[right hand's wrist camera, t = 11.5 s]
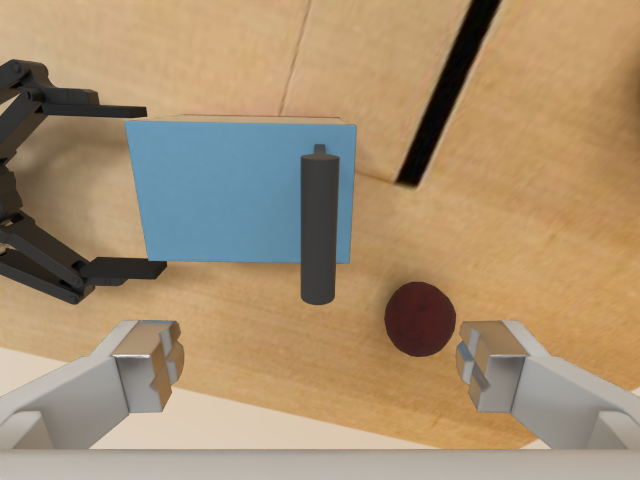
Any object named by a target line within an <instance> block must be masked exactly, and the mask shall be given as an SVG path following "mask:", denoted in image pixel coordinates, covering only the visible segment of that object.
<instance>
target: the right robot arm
mask: <svg viewBox="0 0 640 480" xmlns="http://www.w3.org/2000/svg"><path fill="white" fill-rule="evenodd" d="M180 334H181V332H180V327H179V324H178V323H177V322H176V321H156V320H124V321H120V322H119V323H118V324H117V325H116V326H115V328H114V329H113V330H112V331H111V332H110V333H109V334H108V335H107V336H106V337H105V339H104V340H103V341H102V342H101V343H100V344H99V345H98V346H97V347H96V348H95V350H94V351H93V352H92V353H91V354H90V355H89V356H82V357H80V358H78V359H76V360H74V361H72V362H70V363H68V364H66V365H64V366H62V367H60V368H58V369H56V370H54V371H52V372H50V373H48V374H46V375H44V376H42V377H40V378H38V379H35V380H33V381H31V382H29V383H27V384H25V385H23V386H21V387H19V388H17V389H15V390H13V391H11V392H9V393H7V394H5V395H3V396H1V397H0V480H640V397H639V396H637V395H635V394H633V393H631V392H629V391H627V390H625V389H623V388H621V387H619V386H617V385H615V384H612V383H610V382H608V381H606V380H604V379H602V378H600V377H598V376H596V375H594V374H592V373H590V372H588V371H586V370H584V369H582V368H580V367H578V366H576V365H574V364H572V363H570V362H568V361H566V360H564V359H562V358H560V357H558V356H551V355H550V354H549V353H548V352H547V351H546V350H545V348H544V347H543V346H542V345H541V344H540V343H539V342H538V341H537V340H536V339H535V337H534V336H533V335H532V334H531V333H530V332H529V331H528V330H527V329H526V328H525V326H524V325H523V324H522V323H521V322H519V321H517V320H498V321H463V322H462V324H461V326H460V331H459V334H460V336H461V338H462V339H463V341H462V342H461V343H460V344H459V345H458V346H457V349H456V366H457V370H458V373H459V375H460V377H461V380H462V381H464V382H465V383H466V384H468V385H469V390H468V393H469V395H470V397H471V399H472V401H473V403H474V405H475V407H476V409H477V411H478V412H491V413H511V415H512V416H513V417H514V418H515V419H517V420H518V421H519V422H520V423H521V424H523V425H524V426H525V427H526V428H527V429H529V430H530V431H531V432H532V433H533V434H535V435H536V436H537V437H538V438H539V439H541V440H542V441H543V442H544V443H545V444H547V445H548V446H549V447H550V448H551V449H89V448H90V447H91V446H92V445H94V444H95V443H96V442H97V441H98V440H99V439H101V438H102V437H103V436H104V435H106V434H107V433H108V432H109V431H110V430H112V429H113V428H114V427H115V426H116V425H118V424H119V423H120V422H121V421H122V420H124V419H125V418H126V417H127V416H128V415H129V413H149V412H162V411H163V409H164V407H165V405H166V403H167V401H168V399H169V397H170V395H171V393H172V390H171V385H172V384H174V383H175V382H176V381H178V380H179V377H180V375H181V373H182V370H183V365H184V349H183V346H182V345H181V344H180V343H179V342H178V341H177V339H178V338H179V336H180Z"/></svg>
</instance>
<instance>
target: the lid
mask: <svg viewBox="0 0 640 480" xmlns="http://www.w3.org/2000/svg"><path fill="white" fill-rule="evenodd" d="M125 128H126V134H127V139H128V145H129V151H130V157H131V163H132V168H133V174H134V180H135V186H136V192H137V197H138V203H139V209H140V215H141V221H142V226H143V232H144V238H145V244H146V249H147V255H148V260H149V261H199V262H264V263H301V298H302V300H303V301H304V302H306V303H308V304H312V305H324V304H328V303H330V302H331V301H333V299H334V297H335V272H336V264H349V263H350V245H351V226H352V207H353V188H354V169H355V150H356V131H357V126H356V125H349V124H295V123H241V122H187V121H125Z"/></svg>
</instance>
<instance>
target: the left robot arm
mask: <svg viewBox="0 0 640 480" xmlns="http://www.w3.org/2000/svg"><path fill="white" fill-rule="evenodd" d="M20 93H21V94H20ZM18 94H20V95H19V96H18V97H17V98H16V99H15V100H14V101H13V103H12V104H11V105H10V106H9V107H8V108H7V109H6V110H5V112H4V113H3V114H2V115H1V116H0V243H3V244H0V275H3V276H5V277H8V278H10V279H12V280H15V281H17V282H20V283H22V284H24V285H27V286H29V287H32V288H34V289H37V290H39V291H41V292H44V293H46V294H49V295H51V296H53V297H56V298H58V299H61V300H63V301H65V302H68V303H70V304H74V305H75V304H78V303H79V302H81V301H82V300H83V299H84V298H85V297H87V296H88V295H89V294H90V293H91V292H93V291H94V289H95V285H96V286H119V285H122V284H123V283H124V282H126V281H127V280H128V279H156V278H157V277H158V276H159V275H160V274H161V273H162V271H163V270H164V269H165V268H166V267H167V261H149V260H148V259H144V258H114V257H97V258H95V259H94V260H92V261H91V262H89V261H88V260H86V259H85V258H83V257H82V256H80V255H79V254H77V253H76V252H74V251H73V250H72V249H70V248H69V247H67V246H66V245H64V244H63V243H61V242H60V241H58V240H57V239H55V238H54V237H52V236H51V235H50V234H48V233H47V232H45V231H44V230H42V229H41V228H39V227H38V226H36V225H35V220H34V219H33V218H31V217H30V216H28V215H27V214H25V213H24V212H22V211H21V210H20V207H23V205H22V201H21V198H20V196H19V194H18V192H17V191H16V179H15V176H14V172H10V171H9V169H8V168H7V167H6V166H5V165H6V164H7V163H8V162H9V161H10V160H11V159H12V158H13V156H14V155H15V154H16V153H17V151H16V149H17V148H18V147H19V146H20V145H21V144H22V143H23V142H24V141H25V140H26V138H27V137H28V136H29V135H30V134H31V133H32V132H33V131H34V130H35V129H36V128H37V127H38V126H39V125H40V124H41V122H42V121H43V120H44V119H45V118H46V117H47V116H48V115H60V116H87V117H113V118H138V117H147V110H146V107H136V106H110V105H100V103H99V98H98V92H96V91H93V90H91V89H70V88H58V87H55V86H54V85H53V84H52V83H51V82H50V81H49V79H48V69H47V67H46V66H45V65H44V64H42V63H38V62H31V61H23V60H15V59H13V60H10V61H8V62H7V63H5V64H3V65H1V66H0V105H1V104H2V103H4V102H6V101H8V100H9V99H11V98H13V97H15V96H16V95H18ZM10 221H11V222H12V223H14V224H12V225H9V226H5V225H6V224H7V223H8V222H10ZM5 243H7V244H9V245H11V246H12V247H14V248H16V249H17V250H14V249H9V247H8V245H7V244H5ZM18 250H19V251H18ZM77 271H78V272H77Z"/></svg>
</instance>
